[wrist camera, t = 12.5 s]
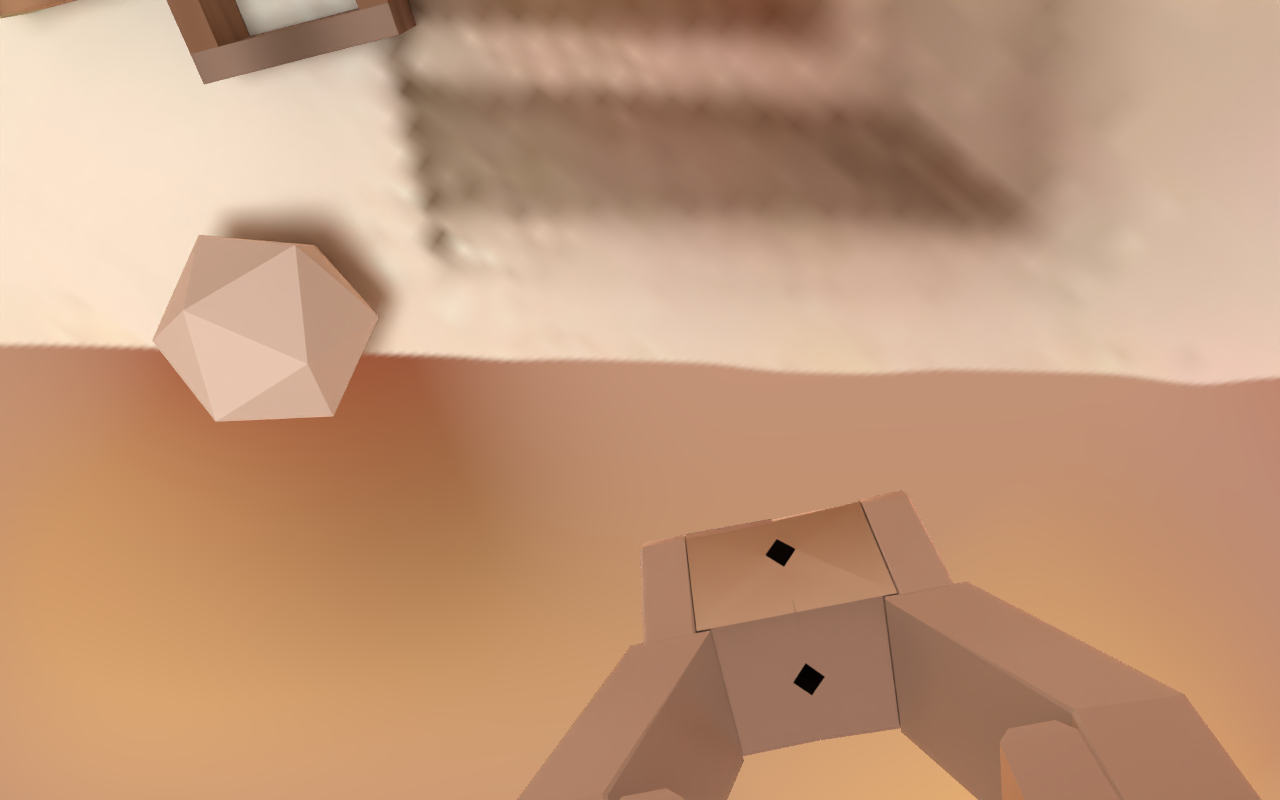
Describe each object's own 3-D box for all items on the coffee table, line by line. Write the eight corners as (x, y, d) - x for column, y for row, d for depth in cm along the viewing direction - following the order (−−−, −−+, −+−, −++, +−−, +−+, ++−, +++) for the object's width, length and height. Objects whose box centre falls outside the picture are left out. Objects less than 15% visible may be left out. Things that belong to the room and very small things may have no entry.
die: (191, 199, 43) (76, 372, 38) (307, 167, 38) (191, 362, 33) (320, 304, 49) (234, 465, 44) (435, 289, 44) (351, 468, 39)
